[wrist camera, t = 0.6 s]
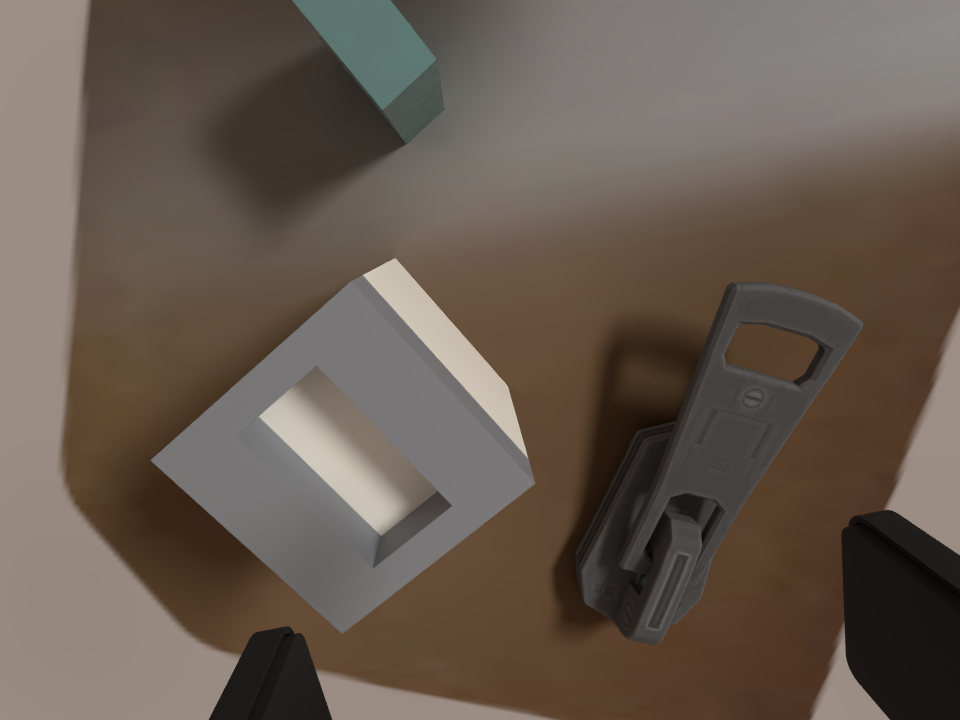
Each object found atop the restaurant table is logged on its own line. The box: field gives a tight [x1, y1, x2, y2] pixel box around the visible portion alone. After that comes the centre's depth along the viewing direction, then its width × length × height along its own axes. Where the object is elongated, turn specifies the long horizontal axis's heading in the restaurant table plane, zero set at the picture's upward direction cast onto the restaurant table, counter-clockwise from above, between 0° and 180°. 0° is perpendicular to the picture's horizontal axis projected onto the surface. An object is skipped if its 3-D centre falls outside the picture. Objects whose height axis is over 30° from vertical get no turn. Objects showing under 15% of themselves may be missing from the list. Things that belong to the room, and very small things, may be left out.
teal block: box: [291, 0, 444, 144], centre depth 27 cm, size 3×6×10 cm, turn 40°
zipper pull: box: [575, 282, 863, 645], centre depth 35 cm, size 9×7×25 cm
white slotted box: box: [151, 258, 535, 634], centre depth 29 cm, size 11×11×14 cm
